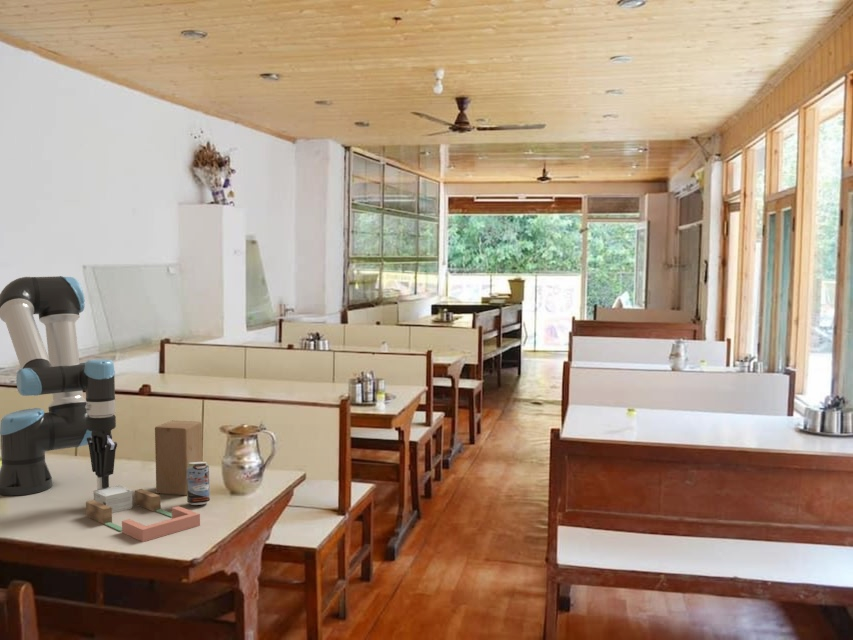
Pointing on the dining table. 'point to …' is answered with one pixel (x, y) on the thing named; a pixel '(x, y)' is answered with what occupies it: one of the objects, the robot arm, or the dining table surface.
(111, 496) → the small box
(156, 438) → the wooden block
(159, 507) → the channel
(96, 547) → the dining table surface
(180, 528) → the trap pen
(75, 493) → the dining table surface
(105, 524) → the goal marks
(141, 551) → the dining table surface
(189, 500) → the beverage can
